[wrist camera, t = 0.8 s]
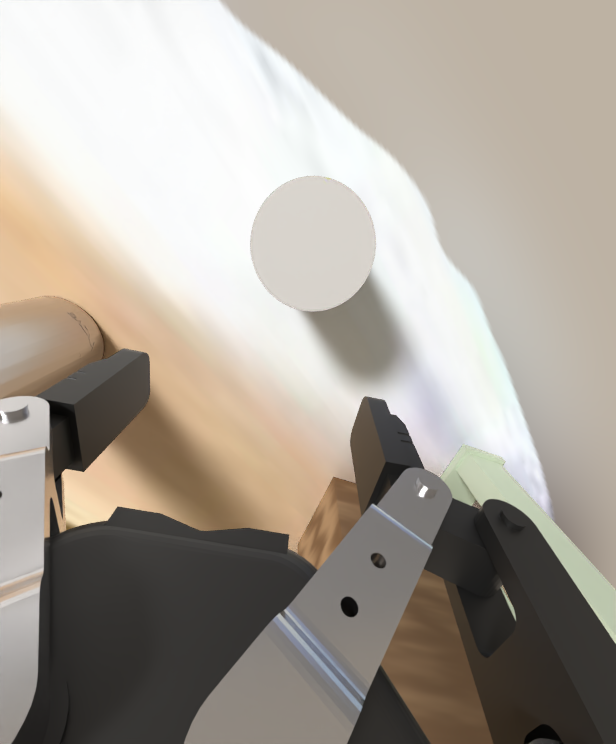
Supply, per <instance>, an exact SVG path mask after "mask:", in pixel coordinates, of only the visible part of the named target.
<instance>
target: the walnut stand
mask: <svg viewBox="0 0 616 744" xmlns="http://www.w3.org/2000/svg"><path fill="white" fill-rule="evenodd" d="M360 518H361V510H360V504H359V497H358V491H357V485H356V484H355V483H352V482H349V481H346V480H342V479H339V478H336V477H333V479H332V481H331V483H330V485H329V487H328V489H327V490H326V492H325V494H324V496H323V498H322V500H321V502H320V504H319V506H318V508H317V509H316V511H315V513H314V515H313V517H312V519H311V521H310V523H309V525H308V526H307V528H306V530H305V532H304V534H303V536H302V538H301V540H300V542H299V544H298V554H299V555H300V556H302V557H304V558H305V559H306V560H307V561H309V562H310V563H311V564H312V565H313V566H314V567H315V568H316V569H317V570H318V569H319V568H320V567H321V566H322V564H323V563H324V562H325V561H326V560H327V558H328V557H329V556H330V555H331V553H332V552H333V551H334V550H335V549H336V547H337V546H338V545H339V544H340V542H341V541H342V540H343V539H344V537H345V536H346V535H347V534H348V533H349V531H350V530H351V529H352V528H353V526H354V525H355V524H356V523H357V522H358V520H359V519H360ZM381 666H382V667H383V669H384V671H385V672H386V674H387V675H388V677H389V678H390V680H391V682H392V683H393V685H394V686H395V688H396V689H397V691H398V693H399V694H400V696H401V697H402V699H403V700H404V702H405V704H406V705H407V707H408V708H409V710H410V711H411V713H412V715H413V716H414V718H415V719H416V721H417V722H418V724H419V726H420V727H421V729H422V730H423V732H424V733H425V735H426V737H427V738H428V740H429V741H430V743H431V744H493V741H492V737H491V734H490V731H489V727H488V724H487V721H486V718H485V714H484V711H483V708H482V705H481V701H480V698H479V695H478V691H477V688H476V685H475V682H474V678H473V675H472V672H471V668H470V665H469V662H468V659H467V655H466V652H465V649H464V646H463V642H462V639H461V636H460V632H459V629H458V626H457V623H456V619H455V616H454V613H453V609H452V606H451V603H450V600H449V596H448V593H447V590H446V587H445V583H444V580H443V578H441V577H439V576H437V575H435V574H433V573H431V572H429V571H427V570H425V569H423V571H422V573H421V575H420V577H419V580H418V582H417V584H416V586H415V588H414V591H413V593H412V595H411V597H410V600H409V602H408V604H407V606H406V608H405V611H404V613H403V615H402V617H401V619H400V622H399V624H398V626H397V628H396V630H395V633H394V635H393V637H392V639H391V641H390V644H389V646H388V648H387V650H386V653H385V655H384V657H383V659H382V661H381Z"/></svg>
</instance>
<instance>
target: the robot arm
mask: <svg viewBox="0 0 616 744" xmlns="http://www.w3.org/2000/svg"><path fill="white" fill-rule="evenodd" d="M103 352H104V342H103V339H102V335H101V332H100V330H99V328H98V326H97V325H96V323H95V322H94V321H93V319H92V318H91V317H90V316H89V315H88V314H87V313H86V312H85V311H84V310H83V309H81V308H80V307H78V306H77V305H75V304H73V303H71V302H69V301H67V300H65V299H61V298H57V297H49V296H44V297H37V298H32V299H27V300H21V301H16V302H11V303H5V304H0V744H431V743H430V741H429V740H428V738H427V737H426V735H425V733H424V732H423V730H422V729H421V727H420V726H419V724H418V722H417V721H416V719H415V718H414V716H413V715H412V713H411V711H410V710H409V708H408V707H407V705H406V704H405V702H404V700H403V699H402V697H401V696H400V694H399V693H398V691H397V689H396V688H395V686H394V685H393V683H392V682H391V680H390V678H389V677H388V675H387V674H386V672H385V671H384V669H383V667H382V666H381V661H382V659H383V657H384V655H385V653H386V650H387V648H388V646H389V644H390V641H391V639H392V637H393V635H394V633H395V630H396V628H397V626H398V624H399V622H400V619H401V617H402V615H403V613H404V611H405V608H406V606H407V604H408V602H409V600H410V597H411V595H412V593H413V591H414V588H415V586H416V584H417V582H418V580H419V577H420V575H421V573H422V571H423V569H425V570H427V571H429V572H431V573H433V574H435V575H437V576H439V577H441V578H443V580H444V583H445V587H446V590H447V593H448V596H449V600H450V603H451V606H452V609H453V613H454V616H455V619H456V623H457V626H458V629H459V632H460V636H461V639H462V642H463V646H464V649H465V652H466V655H467V659H468V662H469V665H470V668H471V672H472V675H473V678H474V682H475V685H476V688H477V691H478V695H479V698H480V701H481V705H482V708H483V711H484V714H485V718H486V721H487V724H488V727H489V731H490V734H491V737H492V741H493V744H616V644H615V642H614V641H613V639H612V638H611V636H610V635H609V633H608V632H607V630H606V629H605V627H604V626H603V624H602V623H601V621H600V620H599V618H598V617H597V615H596V614H595V612H594V611H593V609H592V608H591V606H590V605H589V603H588V602H587V600H586V599H585V597H584V596H583V595H582V593H581V592H580V590H579V589H578V587H577V586H576V584H575V583H574V581H573V580H572V578H571V577H570V575H569V574H568V572H567V571H566V569H565V568H564V566H563V565H562V563H561V562H560V560H559V559H558V557H557V556H556V554H555V553H554V551H553V550H552V548H551V547H550V545H549V544H548V543H547V541H546V540H545V538H544V537H543V535H542V534H541V532H540V531H539V529H538V528H537V526H536V525H535V524H534V522H533V521H532V520H531V519H530V518H529V517H528V516H527V515H526V514H524V513H523V512H522V511H521V510H519V509H518V508H516V507H515V506H513V505H511V504H509V503H507V502H504V501H502V500H498V499H488V500H486V501H485V502H484V503H483V505H482V506H481V508H480V509H478V508H475V507H473V506H471V505H468V504H466V503H464V502H461V501H459V500H456V499H454V498H452V493H451V491H450V489H449V487H448V486H447V485H446V483H445V482H444V481H443V480H442V479H440V478H439V477H438V476H436V475H435V474H433V473H431V472H429V471H427V470H425V469H424V467H423V464H422V462H421V460H420V457H419V455H418V453H417V451H416V448H415V446H414V444H412V443H413V442H412V439H411V437H410V436H409V433H408V430H407V428H406V426H405V424H404V423H403V422H402V421H401V420H400V419H399V418H398V417H397V416H396V415H391V414H390V412H389V409H388V407H387V404H386V402H385V400H381V399H376V398H371V397H366V396H365V397H364V398H363V400H362V402H361V405H360V408H359V411H358V414H357V417H356V420H355V423H354V426H353V429H352V433H351V439H350V446H351V452H352V459H353V465H354V472H355V478H356V485H357V491H358V497H359V504H360V510H361V518H360V519H359V520H358V522H357V523H356V524H355V525H354V526H353V528H352V529H351V530H350V531H349V533H348V534H347V535H346V536H345V537H344V539H343V540H342V541H341V542H340V544H339V545H338V546H337V547H336V549H335V550H334V551H333V552H332V553H331V555H330V556H329V557H328V558H327V560H326V561H325V562H324V563H323V564H322V566H321V567H320V568H319V569H318V570H317V569H316V568H315V567H314V566H313V565H312V564H311V563H310V562H309V561H307V560H306V559H305V558H304V557H302V556H300V555H299V554H297V553H295V552H293V551H291V550H289V549H288V540H289V535H288V534H281V533H275V532H269V531H263V530H257V529H251V528H242V529H228V530H215V531H199V530H197V529H194V528H192V527H190V526H188V525H185V524H183V523H181V522H179V521H176V520H174V519H172V518H170V517H167V516H165V515H163V514H160V513H154V512H147V511H141V510H135V509H129V508H123V507H117V508H116V510H115V511H114V513H113V514H112V516H111V517H110V518H109V520H108V521H102V522H96V523H90V524H86V525H82V526H78V527H75V528H72V529H69V530H66V523H65V502H64V481H63V476H62V472H63V471H64V470H65V469H71V470H76V471H82V472H84V471H85V470H86V469H87V468H88V467H89V466H90V465H91V463H92V462H93V461H94V460H95V459H96V458H97V457H98V456H99V455H100V454H101V453H102V452H103V451H104V450H105V449H106V448H107V446H108V445H109V444H110V443H111V442H112V441H113V440H114V439H115V438H116V437H117V436H118V435H119V434H120V433H121V432H122V430H123V429H124V428H125V427H126V426H127V425H128V424H129V423H130V422H131V421H132V420H133V419H134V418H135V417H136V416H137V414H138V413H139V412H140V411H141V410H142V409H143V408H144V407H145V405H146V404H147V402H148V399H149V395H150V361H149V356H148V354H147V353H144V352H139V351H134V350H129V349H122V350H120V351H119V352H117V353H115V354H114V355H112V356H111V357H109V358H108V359H102V357H103ZM502 585H503V586H504V588H505V590H506V592H507V594H508V597H509V599H510V601H511V603H512V605H513V608H514V611H515V615H516V621H515V618H514V616H513V614H512V612H511V610H510V607H509V605H508V603H507V601H506V599H505V596H504V594H503V592H502V590H501V588H500V587H501V586H502Z"/></svg>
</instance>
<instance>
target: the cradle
mask: <svg viewBox="0 0 616 744" xmlns="http://www.w3.org/2000/svg"><path fill="white" fill-rule="evenodd" d="M504 463H505V461H504V460H503V458H502V457H500V456H497V455H494V454H491V453H488V452H485V451H482V450H479V449H476V448H473V447H471V446H468V445H465V444H463V445H462V447H461V448H460V450H459V451H458V453H457V454H456V455H455V457H454V458H453V460H452V461H451V463H450V464H449V466H448V467H447V468H446V470H445V471H444V473H443V474H442V476H441V477H440V479H442V480H443V481H444V482H445V483H446V485H447V486H448V487H449V489H450V491H451V493H452V498H454V499H456V500H459V501H461V502H464V503H466V504H468V505H471V506H472V505H473V504H474V502H475V501H476V500H477V501H478V503H479V504H480V505H481V506H482V505H483V503H484V502H485V501H486V500H488V499H498V500H502V501H504V502H507V503H509V504H511V505H513V506H515V507H516V508H518V509H519V510H521V511H522V512H523V513H524V514H526V515H527V516H528V517H529V518H530V519H531V520H532V521H533V522H534V524H535V525H536V526H537V528H538V529H539V531H540V532H541V534H542V535H543V537H544V538H545V540H546V541H547V543H548V544H549V545H550V547H551V548H552V550H553V551H554V553H555V554H556V556H557V557H558V559H559V560H560V562H561V563H562V565H563V566H564V568H565V569H566V571H567V572H568V574H569V575H570V577H571V578H572V580H573V581H574V583H575V584H576V586H577V587H578V589H579V590H580V592H581V593H582V595H583V596H584V597H585V599H586V600H587V602H588V603H589V605H590V606H591V608H592V609H593V611H594V612H595V614H596V615H597V617H598V618H599V620H600V621H601V623H602V624H603V626H604V627H605V629H606V630H607V632H608V633H609V635H610V636H611V638H612V639H613V641H614V642H615V644H616V589H615V588H614V587H613V586H612V585H611V584H610V583H609V582H608V581H607V580H606V578H605V577H604V576H603V575H602V574H601V573H600V572H599V571H598V570H597V569H596V568H595V566H594V565H593V564H592V563H591V562H590V561H589V560H588V559H587V558H586V557H585V556H584V554H583V553H582V552H581V551H580V550H579V549H578V548H577V547H576V546H575V545H574V544H573V543H572V541H571V540H570V539H569V538H568V537H567V536H566V535H565V534H564V533H563V532H562V531H561V529H560V528H559V527H558V526H557V525H556V524H555V523H554V522H553V521H552V520H551V518H550V517H549V516H548V515H547V514H546V513H545V512H544V511H543V510H542V509H541V507H540V506H539V505H538V504H537V503H536V502H535V501H534V500H533V499H532V498H531V497H530V495H529V494H528V493H527V492H526V491H525V490H524V489H523V488H522V487H521V486H520V485H519V483H518V482H517V481H516V480H515V479H514V478H513V477H512V476H511V475H510V474H509V473H508V471H507V470H506V469H505V468H504V467H503V465H504ZM500 588H501V590H502V592H503V594H504V596H505V599H506V601H507V603H508V605H509V607H510V610H511V612H512V614H513V616H514V618H515V621H516V615H515V611H514V608H513V606H512V604H511V603H510V601H509V599H508V598H507V596H506V594H505V592H504V591H503V589H502V587H500Z"/></svg>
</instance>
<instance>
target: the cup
mask: <svg viewBox="0 0 616 744" xmlns="http://www.w3.org/2000/svg"><path fill="white" fill-rule="evenodd" d="M250 247H251V257H252V261H253V265H254V268H255V271H256V273H257V275H258V277H259V279H260V281H261V283H262V284H263V285H264V287H265V288H266V289H267V291H268V292H269V293H270V294H271V295H272V296H273V297H275V298H276V299H277V300H278V301H280V302H282V303H283V304H285V305H287V306H289V307H291V308H294V309H298V310H302V311H312V312H314V311H323V310H328V309H331V308H334V307H336V306H338V305H340V304H342V303H344V302H345V301H347V300H348V299H350V298H351V297H352V296H353V295H354V294H355V293H356V292H357V291H358V290H359V289H360V288H361V286H362V285H363V284H364V282H365V280H366V279H367V277H368V275H369V273H370V270H371V268H372V265H373V261H374V257H375V249H376V237H375V230H374V225H373V222H372V219H371V216H370V214H369V212H368V210H367V208H366V206H365V205H364V203H363V202H362V200H361V199H360V198H359V197H358V196H357V195H356V194H355V193H354V192H353V191H352V190H351V189H350V188H348V187H347V186H345V185H344V184H342V183H340V182H338V181H336V180H334V179H331V178H327V177H321V176H306V177H300V178H296V179H293V180H291V181H289V182H287V183H285V184H283V185H281V186H280V187H278V188H277V189H276V190H275V191H273V192H272V193H271V194H270V195H269V196H268V198H267V199H266V200H265V201H264V203H263V204H262V206H261V207H260V209H259V211H258V213H257V215H256V217H255V220H254V223H253V227H252V232H251V241H250Z"/></svg>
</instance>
